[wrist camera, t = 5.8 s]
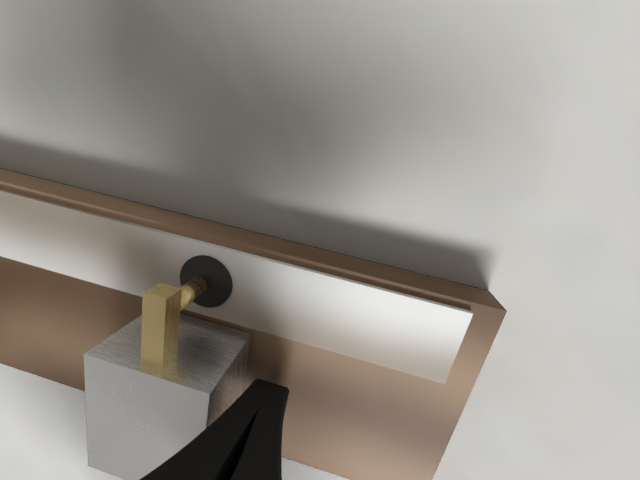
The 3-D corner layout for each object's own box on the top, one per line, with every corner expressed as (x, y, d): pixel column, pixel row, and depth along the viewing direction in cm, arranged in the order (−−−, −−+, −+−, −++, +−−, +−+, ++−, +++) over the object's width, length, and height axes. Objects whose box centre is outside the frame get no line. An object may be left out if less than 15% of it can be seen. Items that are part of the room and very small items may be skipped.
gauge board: (416, 466, 13) (436, 610, 9) (-60, 314, 16) (-215, 370, 12) (489, 290, 11) (565, 377, 6) (-94, 144, 14) (-309, 138, 9)
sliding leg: (237, 425, 12) (196, 505, 10) (151, 398, 13) (88, 466, 10) (260, 276, 10) (218, 320, 8) (157, 248, 11) (80, 281, 8)
